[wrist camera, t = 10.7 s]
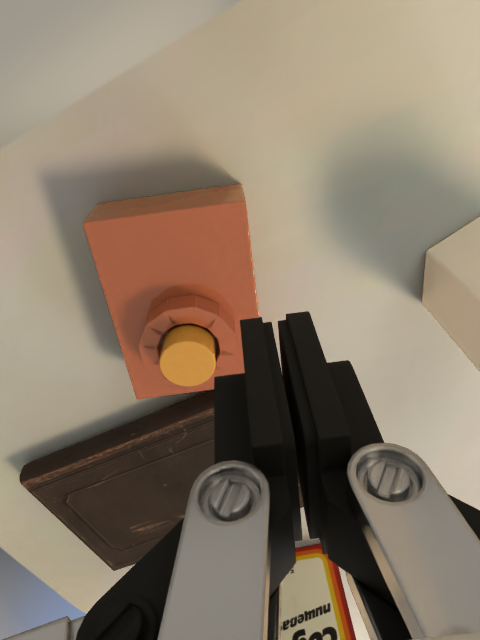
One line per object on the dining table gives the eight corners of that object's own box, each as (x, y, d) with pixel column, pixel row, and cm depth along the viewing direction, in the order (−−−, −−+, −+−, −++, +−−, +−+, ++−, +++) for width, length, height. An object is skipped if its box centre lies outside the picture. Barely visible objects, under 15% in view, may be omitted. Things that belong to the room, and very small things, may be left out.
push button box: (96, 203, 31) (74, 233, 26) (241, 183, 31) (247, 209, 26) (143, 367, 38) (133, 416, 33) (261, 351, 38) (269, 398, 33)
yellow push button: (157, 328, 30) (153, 345, 28) (211, 320, 30) (211, 337, 28) (168, 371, 32) (165, 390, 30) (219, 365, 32) (219, 383, 30)
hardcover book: (310, 484, 47) (315, 503, 45) (117, 551, 51) (113, 571, 49) (247, 371, 39) (249, 388, 37) (25, 460, 43) (16, 480, 41)
